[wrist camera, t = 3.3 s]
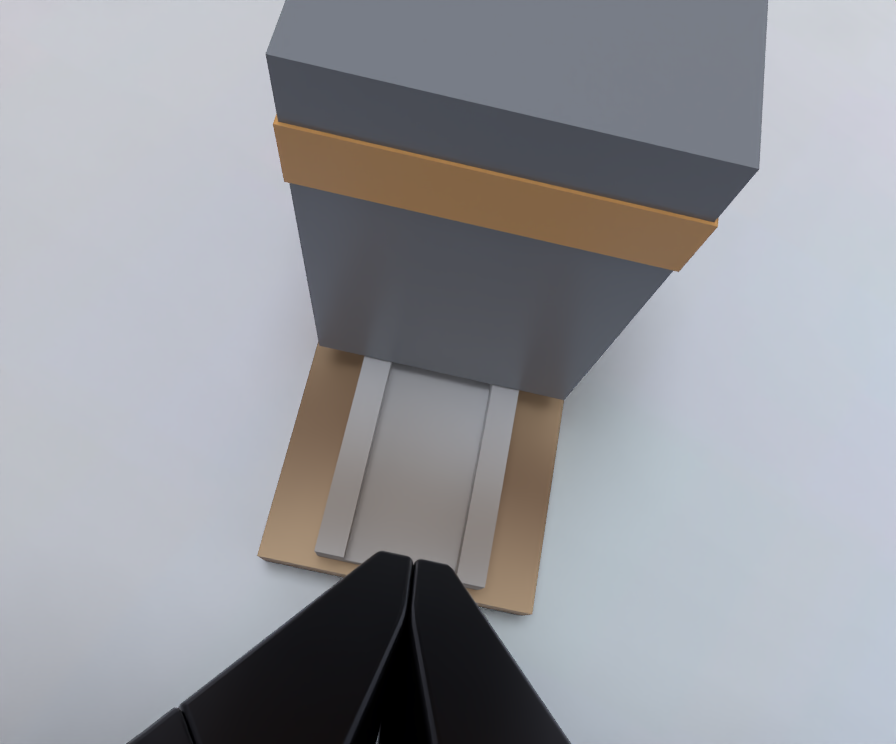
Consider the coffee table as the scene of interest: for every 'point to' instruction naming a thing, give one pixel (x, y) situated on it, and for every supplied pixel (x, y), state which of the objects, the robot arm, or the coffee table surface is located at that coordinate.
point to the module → (508, 169)
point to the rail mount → (416, 476)
